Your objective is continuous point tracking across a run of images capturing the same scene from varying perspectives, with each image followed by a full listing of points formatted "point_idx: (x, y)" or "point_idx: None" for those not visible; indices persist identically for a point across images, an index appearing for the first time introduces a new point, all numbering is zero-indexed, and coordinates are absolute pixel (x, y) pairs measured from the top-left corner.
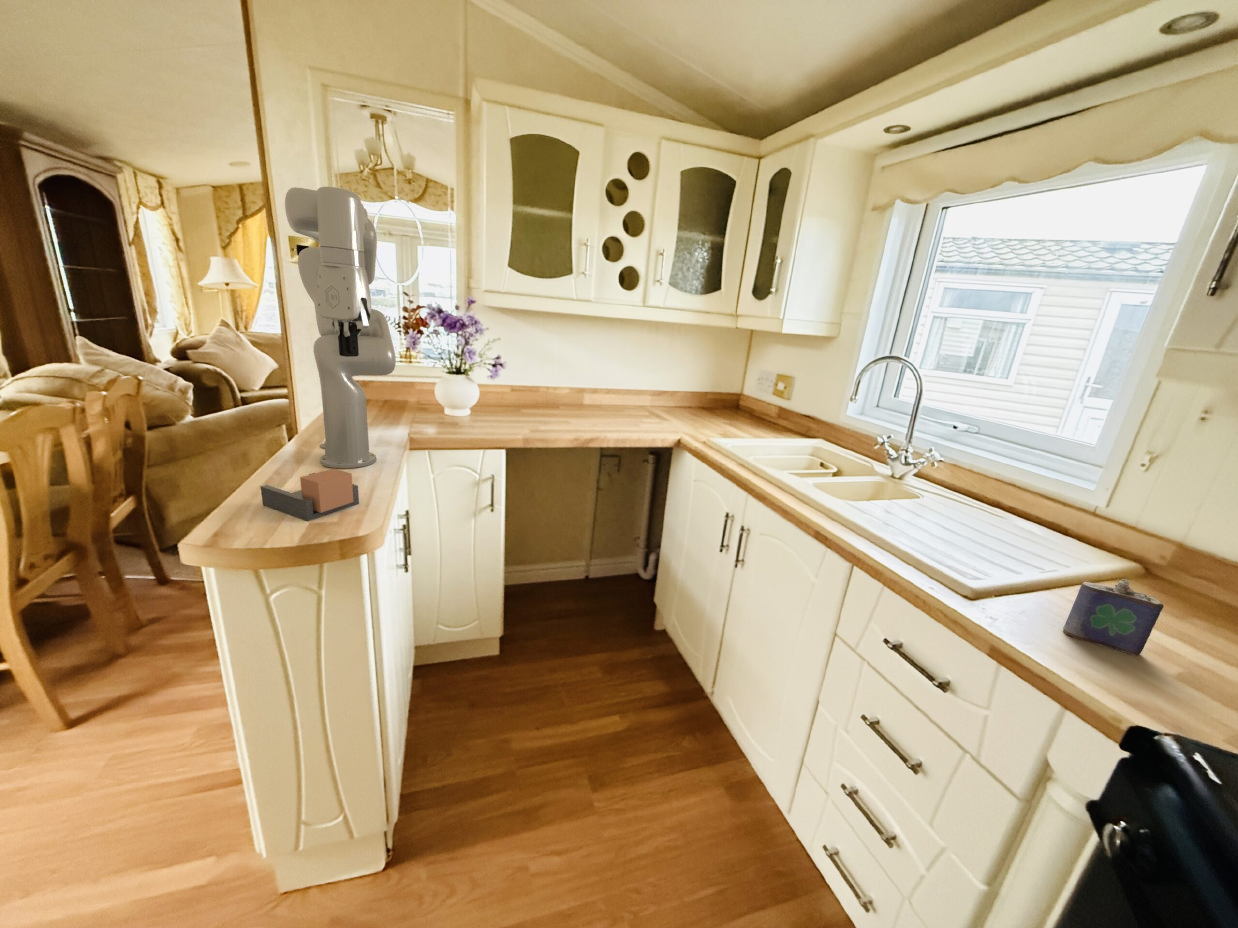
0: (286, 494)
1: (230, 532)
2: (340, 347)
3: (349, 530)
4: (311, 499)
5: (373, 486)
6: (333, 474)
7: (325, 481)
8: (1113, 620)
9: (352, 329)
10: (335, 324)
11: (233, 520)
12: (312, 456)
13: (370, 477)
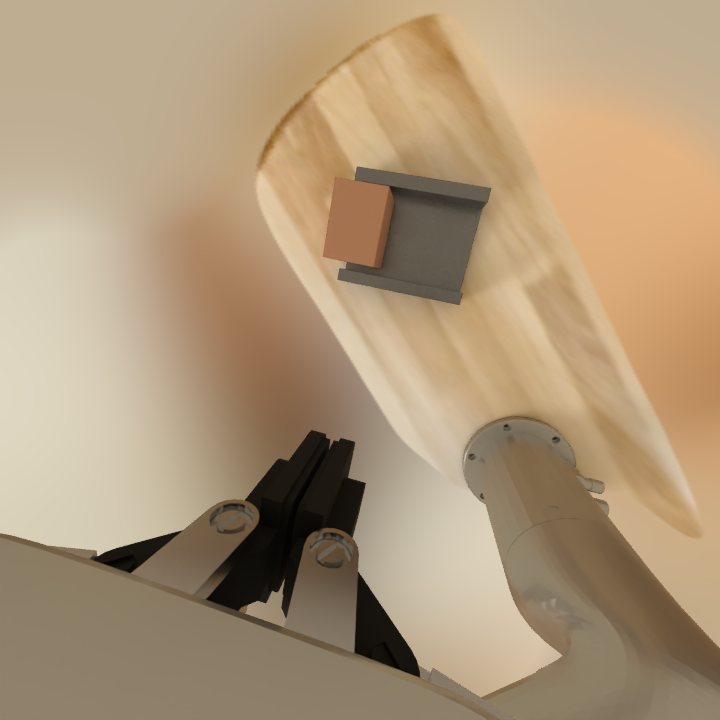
0: (412, 177)
1: (438, 79)
2: (329, 459)
3: (284, 180)
4: (355, 179)
5: (380, 360)
6: (347, 234)
7: (333, 194)
8: None
9: (152, 554)
10: (333, 626)
11: (476, 120)
12: (611, 467)
13: (416, 399)
